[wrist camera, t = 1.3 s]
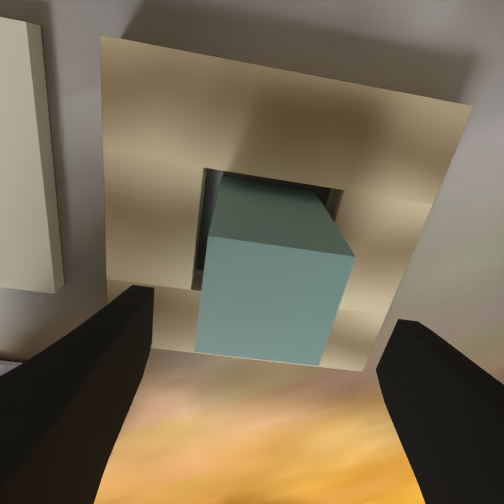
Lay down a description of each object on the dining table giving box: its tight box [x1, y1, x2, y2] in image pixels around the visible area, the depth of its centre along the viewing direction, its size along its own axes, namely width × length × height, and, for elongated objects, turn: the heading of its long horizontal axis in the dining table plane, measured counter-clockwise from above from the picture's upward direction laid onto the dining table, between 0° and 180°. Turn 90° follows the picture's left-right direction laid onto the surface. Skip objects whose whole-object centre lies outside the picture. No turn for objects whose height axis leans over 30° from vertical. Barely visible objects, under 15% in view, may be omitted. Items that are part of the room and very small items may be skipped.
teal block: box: [194, 176, 356, 366], centre depth 14 cm, size 4×4×7 cm
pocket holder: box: [100, 35, 474, 372], centre depth 16 cm, size 14×14×2 cm
